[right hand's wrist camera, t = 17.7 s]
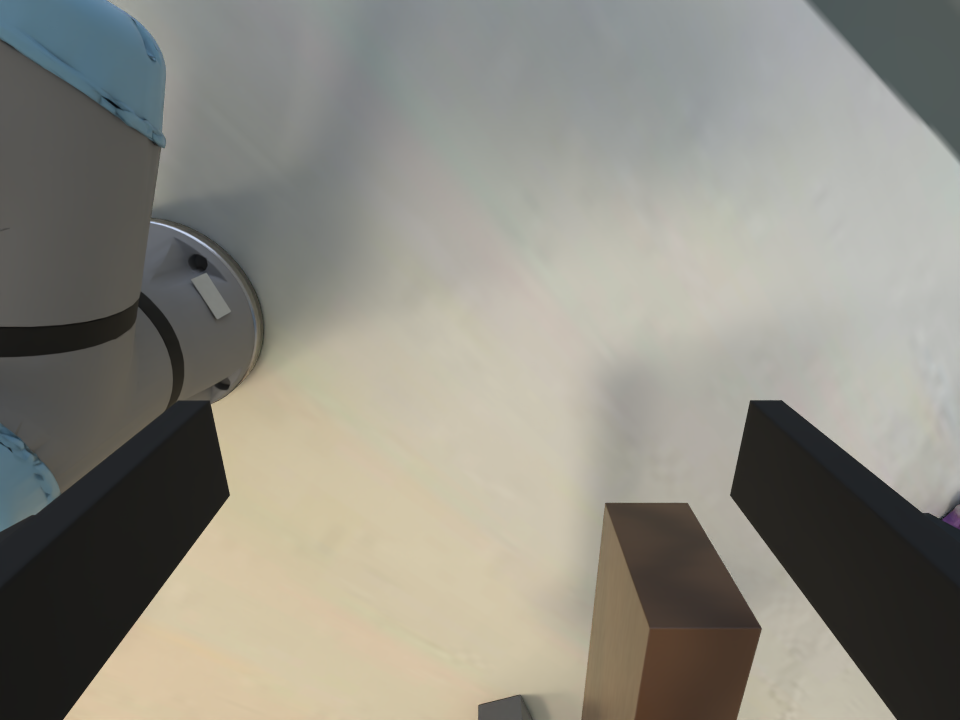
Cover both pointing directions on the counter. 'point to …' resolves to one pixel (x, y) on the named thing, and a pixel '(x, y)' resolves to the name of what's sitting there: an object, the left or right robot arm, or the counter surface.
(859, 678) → the counter surface
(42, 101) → the right robot arm
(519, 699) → the slate block
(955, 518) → the figurine
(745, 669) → the walnut beam
